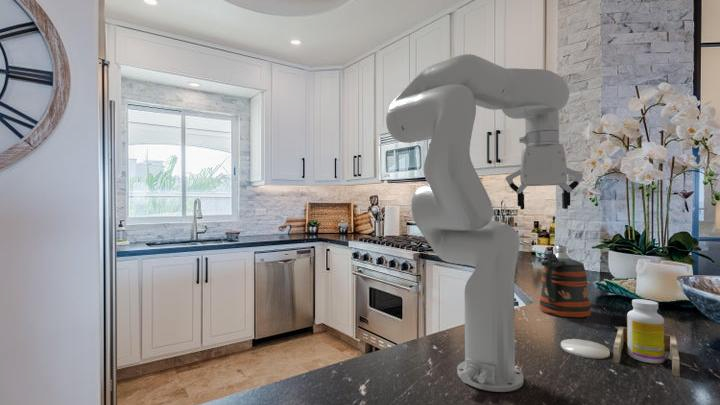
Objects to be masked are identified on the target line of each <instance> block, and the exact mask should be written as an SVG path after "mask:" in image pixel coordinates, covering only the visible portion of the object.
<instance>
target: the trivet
mask: <svg viewBox="0 0 720 405" xmlns="http://www.w3.org/2000/svg"><path fill="white" fill-rule="evenodd" d="M560 347H561V350H563V351H565V352H566V353H569V354H571V355H572V356H577V357H582V358H585V359H595V360H597V359H599V360H601V359H607V358H609V357H610V355H611V353H610V352H611V350H610V349H609V348H608V347H607V346H605V345H603V344H601V343H598V342H594V341H592V340H585V339H580V338H572V339H571V338H569V339H568V338H567V339H563V340H561V342H560Z"/></svg>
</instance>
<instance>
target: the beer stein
mask: <svg viewBox="0 0 720 405" xmlns="http://www.w3.org/2000/svg"><path fill="white" fill-rule="evenodd" d="M541 266H542V267H543V266H544V267H543V269H542V270H543V272H542V276H541V281H542V284H541V293H540V296H539V306H538V308H539V310H540V311H542V312H543V313H546V314H549V315H553V316H556V317H557V316H559V317H563V318H573V319H581V318H588V317H590V316H591V314H592V312H591V302H590V298H589V293H588V285H589V284H588V278H587V270H585V265H584V263H583V262H580V261H578V260H575V259H572V258H569V259H565V258H557V256H556V255H555V253H552V252H548V253H547V259H545V260H544V261H542V262H541Z"/></svg>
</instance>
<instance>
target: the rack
mask: <svg viewBox="0 0 720 405" xmlns="http://www.w3.org/2000/svg"><path fill="white" fill-rule="evenodd" d="M624 343H626V344H627V326H626V327H625V326H618V330H617V333H616V336H615V339H614V343H613V347H612V349H613V363H616V364H620V361H621V357H622V353H623V352H622V350H623V347H624ZM664 350H665V351H669V352H670V360H671V368H672V375H673V376H675V377H680V355H679V349H678V343H677V337H676V335H674V334H667V333H664Z"/></svg>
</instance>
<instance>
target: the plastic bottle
mask: <svg viewBox="0 0 720 405" xmlns="http://www.w3.org/2000/svg"><path fill="white" fill-rule="evenodd" d="M554 251H555V252H554V254H555V255H556V256H557V258H565V259H569V258H570V256H569V254H568V253H567V252H568V250H567V245H555V249H554Z"/></svg>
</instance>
